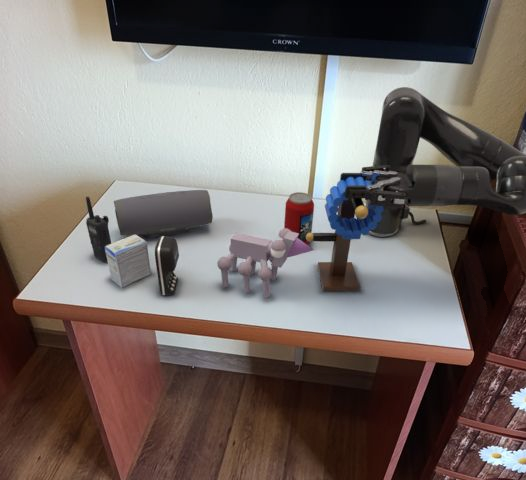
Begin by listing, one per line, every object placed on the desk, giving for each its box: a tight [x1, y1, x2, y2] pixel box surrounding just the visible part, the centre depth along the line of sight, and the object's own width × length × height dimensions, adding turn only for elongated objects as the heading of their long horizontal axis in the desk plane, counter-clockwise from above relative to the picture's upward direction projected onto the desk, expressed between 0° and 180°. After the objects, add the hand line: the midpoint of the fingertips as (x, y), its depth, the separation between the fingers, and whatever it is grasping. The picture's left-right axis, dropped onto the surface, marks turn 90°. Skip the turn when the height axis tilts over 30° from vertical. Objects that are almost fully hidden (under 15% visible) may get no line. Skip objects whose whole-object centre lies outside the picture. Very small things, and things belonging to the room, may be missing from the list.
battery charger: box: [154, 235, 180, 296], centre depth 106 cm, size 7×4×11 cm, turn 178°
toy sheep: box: [217, 228, 314, 298], centre depth 107 cm, size 20×11×14 cm, turn 70°
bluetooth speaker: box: [113, 189, 214, 237], centre depth 125 cm, size 23×9×10 cm, turn 108°
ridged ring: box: [324, 177, 383, 240], centre depth 98 cm, size 5×10×11 cm, turn 92°
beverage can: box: [283, 191, 315, 246], centre depth 122 cm, size 7×7×12 cm
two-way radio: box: [85, 196, 112, 263], centre depth 114 cm, size 6×4×15 cm
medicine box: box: [105, 234, 152, 288], centre depth 110 cm, size 8×4×9 cm, turn 134°
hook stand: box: [306, 199, 368, 292], centre depth 104 cm, size 17×12×23 cm
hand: (343, 185), depth 95 cm, fingers closed on ridged ring, 5 cm apart
